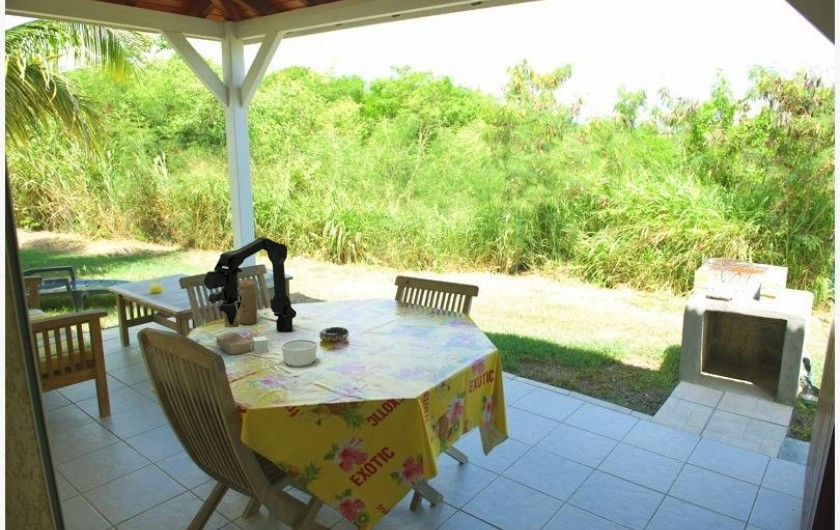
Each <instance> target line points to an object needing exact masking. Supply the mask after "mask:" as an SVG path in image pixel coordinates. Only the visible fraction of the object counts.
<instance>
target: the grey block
mask: <svg viewBox="0 0 840 530" xmlns="http://www.w3.org/2000/svg"><path fill="white" fill-rule="evenodd" d="M268 345H269V344H268V339H267V336H266V335H264V336H253V337H252V350H253V352H254V354H258V353H257V352H261V353H266V352H265V351H269V347H268Z"/></svg>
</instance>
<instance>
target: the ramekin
mask: <svg viewBox="0 0 840 530" xmlns="http://www.w3.org/2000/svg"><path fill="white" fill-rule="evenodd" d="M317 348H318V343H317V342H316V341H315V340H313V339H309V338H308V339H307V338H295V339H289V340H287V341H285V342H283V343H282V344H281V348H280V349H281V352H282V357H283V358H282V359H283V361H284V363H285V364H286V365H287V364H288V366H290V365H292V366H291V367H303V366H302V365H306V366H308V365H307V364H309V365H311V364H313V363H314V362H315V361H316V357H317ZM313 361H314V362H313ZM312 362H313V363H312ZM310 363H311V364H310Z"/></svg>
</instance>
